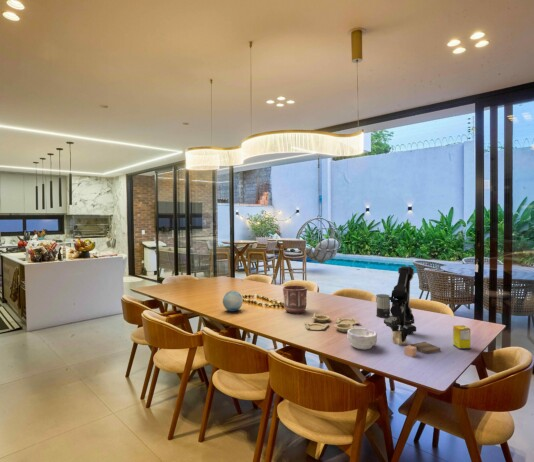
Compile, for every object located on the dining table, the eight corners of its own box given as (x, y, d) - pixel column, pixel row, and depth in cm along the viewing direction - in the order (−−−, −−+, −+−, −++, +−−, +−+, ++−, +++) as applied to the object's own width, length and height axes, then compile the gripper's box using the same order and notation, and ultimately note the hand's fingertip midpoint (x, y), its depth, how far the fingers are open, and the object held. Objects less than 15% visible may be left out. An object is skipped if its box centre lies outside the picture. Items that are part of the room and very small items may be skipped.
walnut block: (410, 348, 180) (410, 344, 180) (424, 345, 184) (424, 341, 184) (425, 354, 171) (425, 350, 171) (440, 351, 175) (440, 348, 175)
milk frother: (382, 318, 232) (382, 297, 232) (366, 313, 247) (366, 292, 246) (398, 316, 238) (398, 295, 238) (382, 311, 252) (382, 291, 252)
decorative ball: (245, 308, 262) (244, 289, 261) (240, 314, 247) (239, 293, 246) (226, 308, 264) (226, 288, 264) (220, 313, 249) (220, 292, 249)
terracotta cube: (404, 354, 170) (404, 346, 170) (409, 352, 173) (409, 345, 173) (412, 357, 167) (412, 349, 167) (416, 355, 169) (416, 347, 169)
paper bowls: (381, 345, 182) (381, 331, 182) (368, 354, 171) (368, 338, 171) (355, 339, 193) (355, 325, 192) (341, 347, 181) (341, 332, 181)
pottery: (301, 307, 264) (300, 284, 263) (311, 313, 247) (310, 288, 247) (279, 309, 258) (279, 286, 258) (288, 315, 242) (288, 290, 241)
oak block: (392, 342, 188) (392, 331, 188) (399, 340, 190) (399, 330, 189) (399, 345, 183) (399, 334, 183) (406, 343, 185) (406, 332, 185)
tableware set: (360, 321, 229) (360, 315, 229) (360, 335, 200) (360, 328, 200) (308, 317, 238) (308, 311, 238) (301, 330, 210) (301, 324, 210)
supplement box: (463, 345, 182) (463, 325, 182) (470, 349, 176) (470, 328, 176) (452, 345, 182) (452, 325, 182) (459, 349, 176) (459, 328, 176)
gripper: (376, 309, 192) (376, 336, 192) (400, 318, 174) (400, 348, 175) (391, 307, 196) (391, 334, 196) (417, 315, 178) (417, 345, 179)
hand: (399, 340), depth 186 cm, fingers closed on oak block, 5 cm apart
